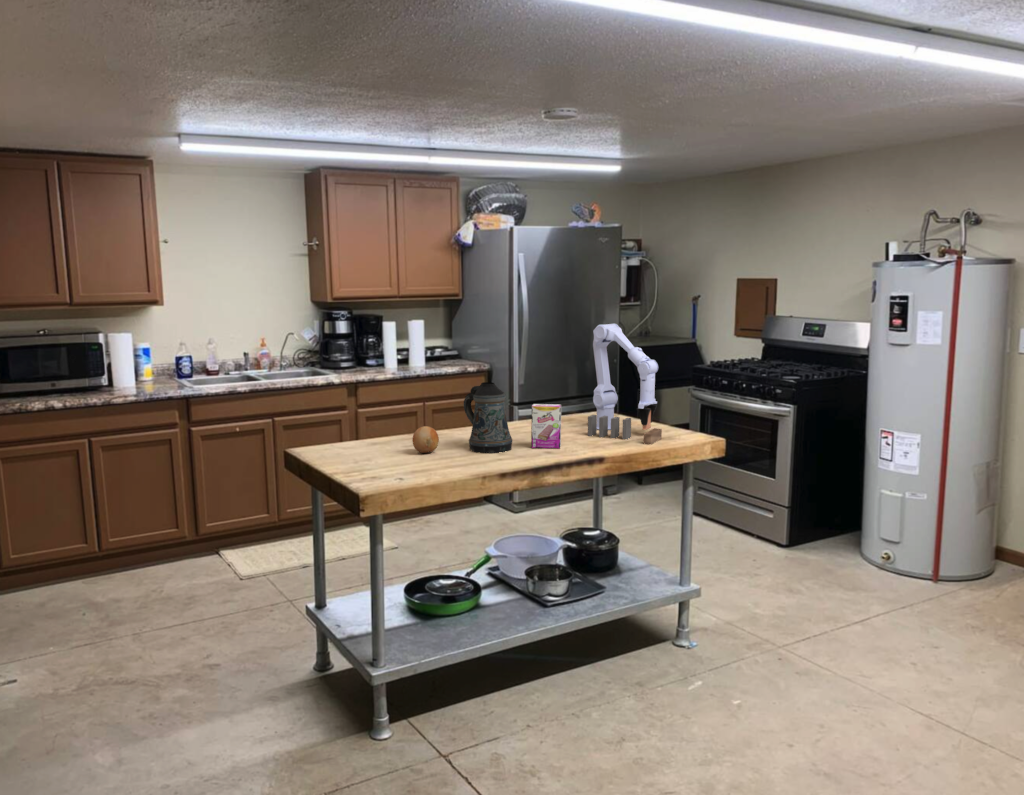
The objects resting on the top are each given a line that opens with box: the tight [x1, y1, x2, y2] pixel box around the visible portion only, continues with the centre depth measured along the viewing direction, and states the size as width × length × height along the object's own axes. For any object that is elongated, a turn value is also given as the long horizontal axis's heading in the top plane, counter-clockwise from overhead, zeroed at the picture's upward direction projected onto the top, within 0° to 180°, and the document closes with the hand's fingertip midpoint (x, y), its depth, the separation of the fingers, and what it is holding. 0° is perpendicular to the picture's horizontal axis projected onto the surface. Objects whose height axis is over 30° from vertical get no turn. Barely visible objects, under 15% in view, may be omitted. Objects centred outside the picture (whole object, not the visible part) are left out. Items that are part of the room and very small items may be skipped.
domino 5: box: [642, 408, 652, 431], centre depth 323 cm, size 2×5×8 cm, turn 150°
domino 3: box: [610, 416, 620, 439], centre depth 321 cm, size 2×5×8 cm, turn 150°
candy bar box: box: [530, 403, 562, 450], centre depth 303 cm, size 11×5×16 cm, turn 84°
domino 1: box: [587, 414, 597, 437], centre depth 326 cm, size 2×5×8 cm, turn 150°
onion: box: [412, 425, 440, 454], centre depth 296 cm, size 10×10×10 cm
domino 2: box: [598, 416, 609, 438], centre depth 323 cm, size 2×5×8 cm, turn 150°
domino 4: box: [621, 417, 632, 440], centre depth 318 cm, size 2×5×8 cm, turn 150°
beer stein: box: [463, 381, 513, 454], centre depth 301 cm, size 16×19×25 cm
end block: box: [643, 427, 663, 445], centre depth 313 cm, size 3×12×4 cm, turn 150°
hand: (646, 423), depth 323 cm, fingers closed on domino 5, 5 cm apart
